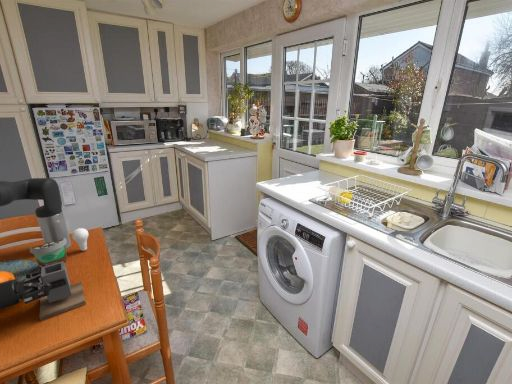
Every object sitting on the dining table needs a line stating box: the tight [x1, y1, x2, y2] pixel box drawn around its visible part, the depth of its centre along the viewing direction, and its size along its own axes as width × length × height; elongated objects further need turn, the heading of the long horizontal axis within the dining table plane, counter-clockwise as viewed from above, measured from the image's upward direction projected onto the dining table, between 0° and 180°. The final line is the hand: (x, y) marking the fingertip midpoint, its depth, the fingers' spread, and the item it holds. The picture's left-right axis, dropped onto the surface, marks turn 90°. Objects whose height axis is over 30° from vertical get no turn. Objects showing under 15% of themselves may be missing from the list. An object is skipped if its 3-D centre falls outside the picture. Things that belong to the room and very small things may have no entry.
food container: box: [29, 238, 68, 269], centre depth 108 cm, size 12×6×10 cm, turn 131°
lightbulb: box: [71, 227, 89, 252], centre depth 118 cm, size 6×6×11 cm
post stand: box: [39, 281, 87, 322], centre depth 89 cm, size 12×12×8 cm
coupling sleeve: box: [40, 261, 72, 303], centre depth 87 cm, size 6×6×10 cm
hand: (64, 276), depth 88 cm, fingers closed on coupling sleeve, 6 cm apart
